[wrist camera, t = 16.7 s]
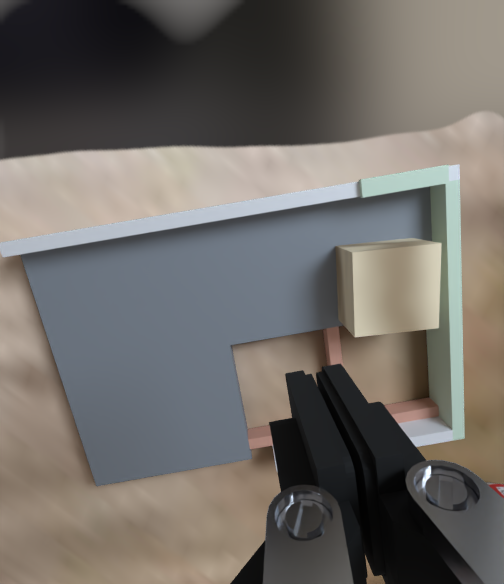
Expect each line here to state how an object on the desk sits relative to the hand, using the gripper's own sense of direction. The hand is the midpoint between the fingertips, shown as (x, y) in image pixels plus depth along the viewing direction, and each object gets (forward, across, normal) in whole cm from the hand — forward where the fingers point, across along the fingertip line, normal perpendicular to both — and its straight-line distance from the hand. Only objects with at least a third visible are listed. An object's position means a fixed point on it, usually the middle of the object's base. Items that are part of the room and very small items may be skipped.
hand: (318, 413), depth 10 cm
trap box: (+19, +2, +4) cm, 20 cm away
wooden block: (+18, -9, +1) cm, 20 cm away
